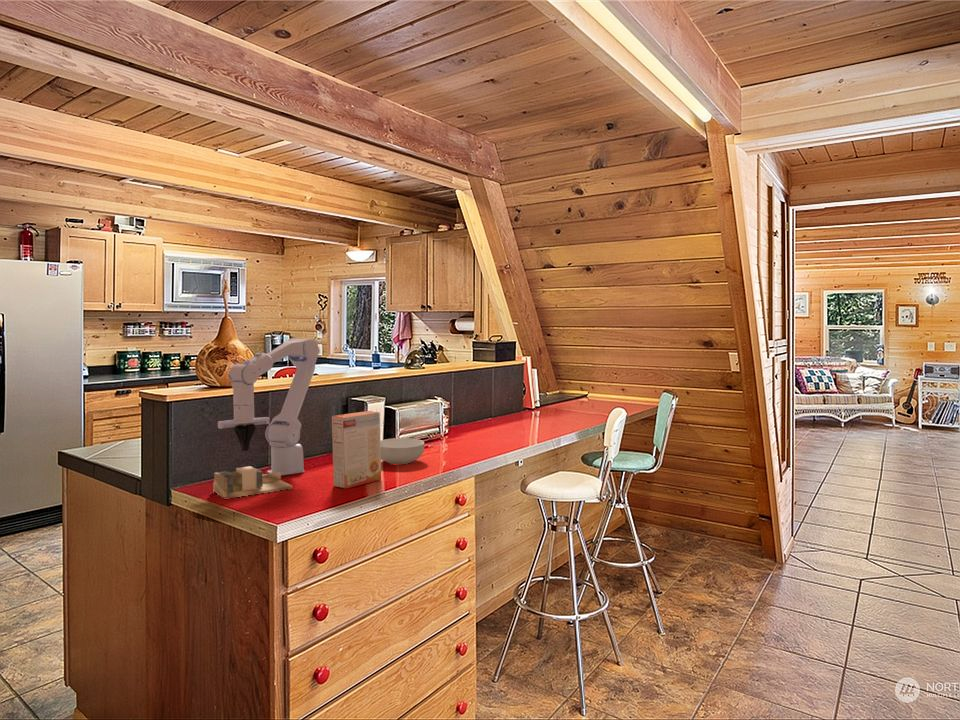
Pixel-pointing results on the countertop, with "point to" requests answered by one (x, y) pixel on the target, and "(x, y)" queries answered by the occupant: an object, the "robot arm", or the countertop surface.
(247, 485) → the beige wooden cube
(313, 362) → the robot arm
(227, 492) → the shelf
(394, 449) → the cereal bowl
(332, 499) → the countertop surface
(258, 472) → the bookend
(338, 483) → the cracker box
